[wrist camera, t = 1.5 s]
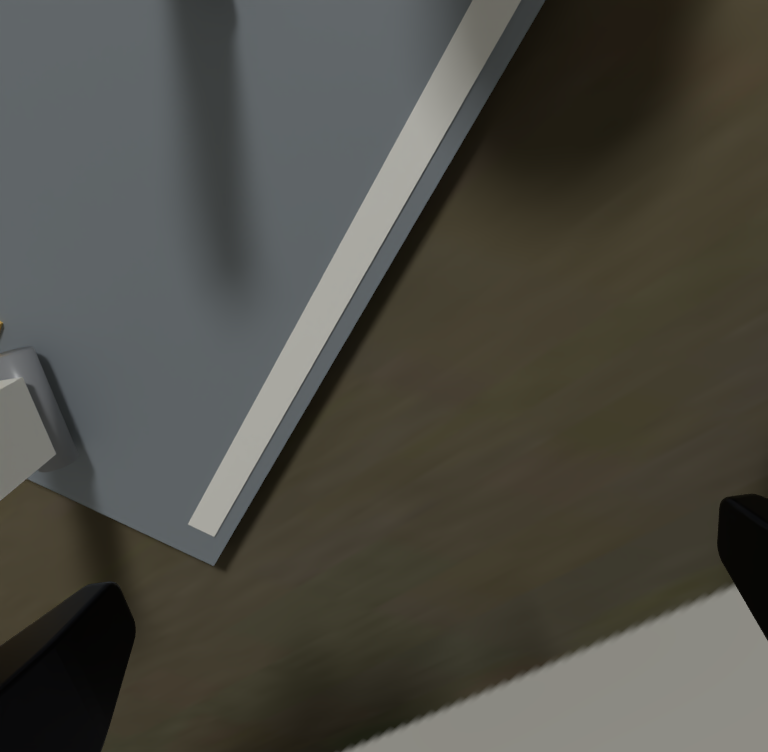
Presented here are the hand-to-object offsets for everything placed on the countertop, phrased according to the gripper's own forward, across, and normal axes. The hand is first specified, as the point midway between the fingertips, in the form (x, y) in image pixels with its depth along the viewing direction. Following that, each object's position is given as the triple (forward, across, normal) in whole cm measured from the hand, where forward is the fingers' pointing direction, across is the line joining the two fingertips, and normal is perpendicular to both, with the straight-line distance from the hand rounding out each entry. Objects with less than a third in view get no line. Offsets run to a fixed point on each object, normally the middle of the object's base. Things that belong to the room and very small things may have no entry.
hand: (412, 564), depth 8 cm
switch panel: (+14, +7, -5) cm, 16 cm away
